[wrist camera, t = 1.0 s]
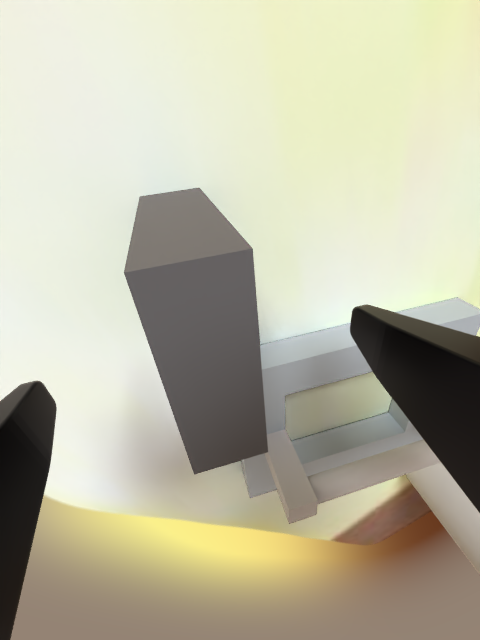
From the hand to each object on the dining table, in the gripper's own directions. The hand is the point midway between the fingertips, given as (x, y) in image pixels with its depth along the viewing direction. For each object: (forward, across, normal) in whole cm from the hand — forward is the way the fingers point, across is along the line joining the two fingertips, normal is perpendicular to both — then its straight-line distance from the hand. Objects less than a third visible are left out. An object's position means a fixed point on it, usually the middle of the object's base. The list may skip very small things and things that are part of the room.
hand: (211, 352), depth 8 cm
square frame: (+6, -9, +12) cm, 16 cm away
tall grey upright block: (+6, 0, 0) cm, 6 cm away
